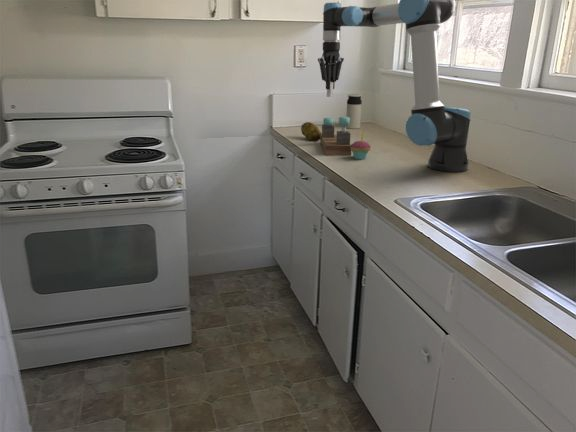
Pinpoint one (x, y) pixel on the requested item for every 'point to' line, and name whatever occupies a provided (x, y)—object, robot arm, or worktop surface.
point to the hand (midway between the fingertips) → (329, 96)
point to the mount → (335, 141)
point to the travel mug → (354, 110)
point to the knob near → (344, 123)
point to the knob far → (328, 121)
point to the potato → (310, 131)
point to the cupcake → (360, 148)
